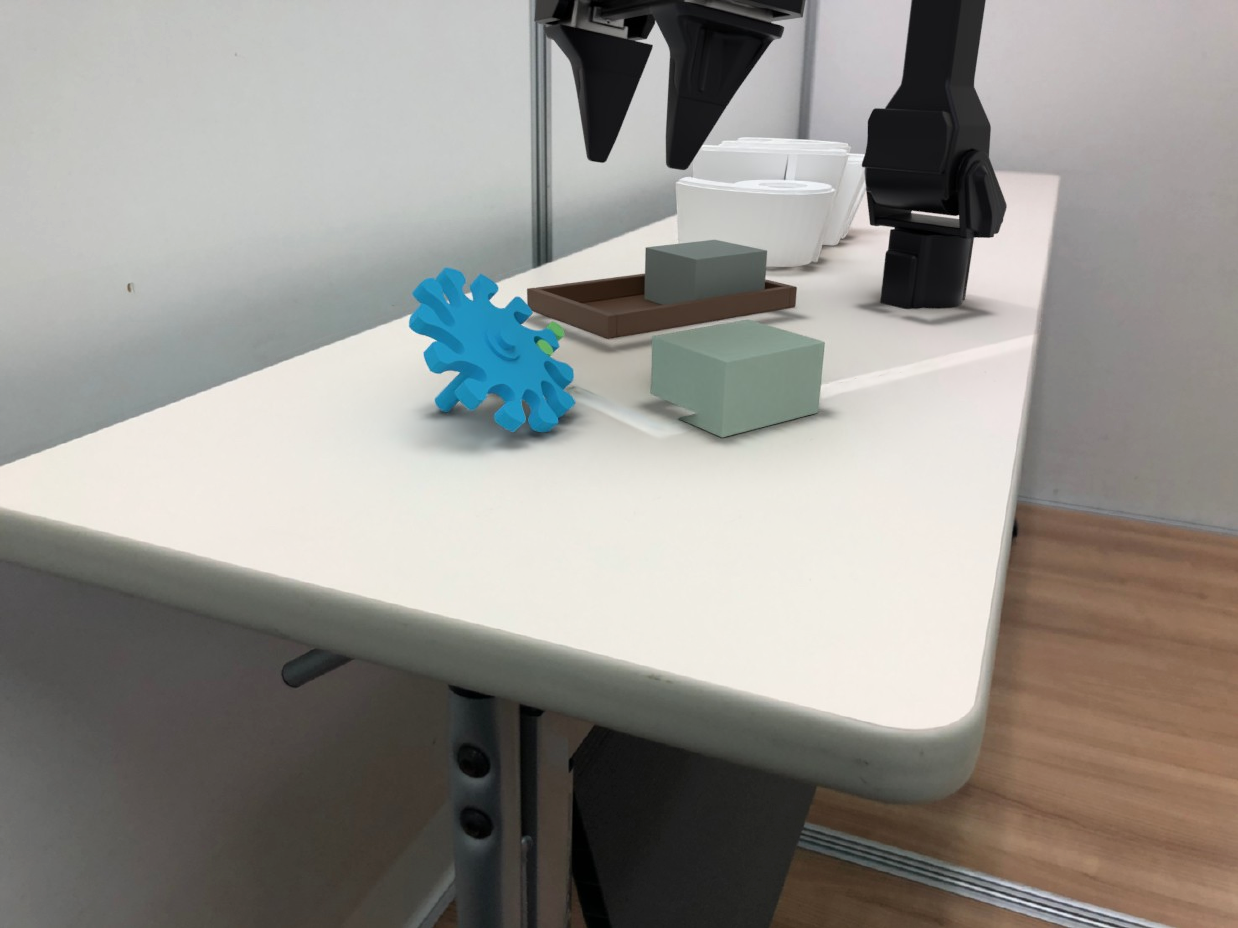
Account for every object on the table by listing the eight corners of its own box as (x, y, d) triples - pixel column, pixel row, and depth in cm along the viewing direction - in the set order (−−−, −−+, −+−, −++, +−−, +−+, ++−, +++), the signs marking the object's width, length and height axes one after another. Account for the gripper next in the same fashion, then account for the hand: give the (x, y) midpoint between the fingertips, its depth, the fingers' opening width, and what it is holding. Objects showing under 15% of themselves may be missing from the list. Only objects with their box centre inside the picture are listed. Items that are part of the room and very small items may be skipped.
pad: (712, 289, 79) (714, 239, 77) (764, 302, 74) (767, 250, 73) (644, 299, 75) (645, 247, 73) (693, 314, 70) (696, 259, 69)
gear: (498, 433, 44) (387, 260, 46) (426, 500, 47) (324, 336, 49) (623, 402, 53) (527, 258, 55) (556, 459, 57) (467, 322, 58)
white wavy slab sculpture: (753, 222, 120) (758, 132, 116) (887, 232, 114) (898, 137, 110) (639, 269, 90) (641, 151, 86) (812, 286, 84) (823, 160, 80)
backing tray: (705, 292, 81) (707, 265, 81) (794, 316, 74) (797, 286, 73) (527, 319, 72) (526, 288, 71) (608, 350, 64) (608, 316, 63)
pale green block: (743, 385, 57) (748, 319, 56) (818, 412, 53) (825, 341, 51) (649, 406, 53) (651, 335, 52) (722, 438, 49) (726, 361, 47)
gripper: (462, -162, 52) (438, 139, 57) (620, -280, 37) (570, 148, 41) (641, -106, 58) (606, 165, 62) (845, -189, 42) (781, 182, 46)
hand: (633, 165), depth 53 cm, fingers open, 9 cm apart
